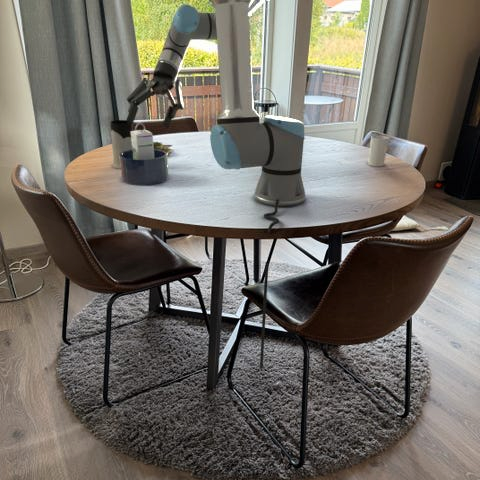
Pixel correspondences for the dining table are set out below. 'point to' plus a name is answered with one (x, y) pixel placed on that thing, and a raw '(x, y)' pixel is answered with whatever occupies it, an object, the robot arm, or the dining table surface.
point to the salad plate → (162, 147)
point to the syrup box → (142, 144)
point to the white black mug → (121, 138)
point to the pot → (144, 168)
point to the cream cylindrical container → (378, 150)
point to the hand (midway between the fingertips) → (147, 124)
